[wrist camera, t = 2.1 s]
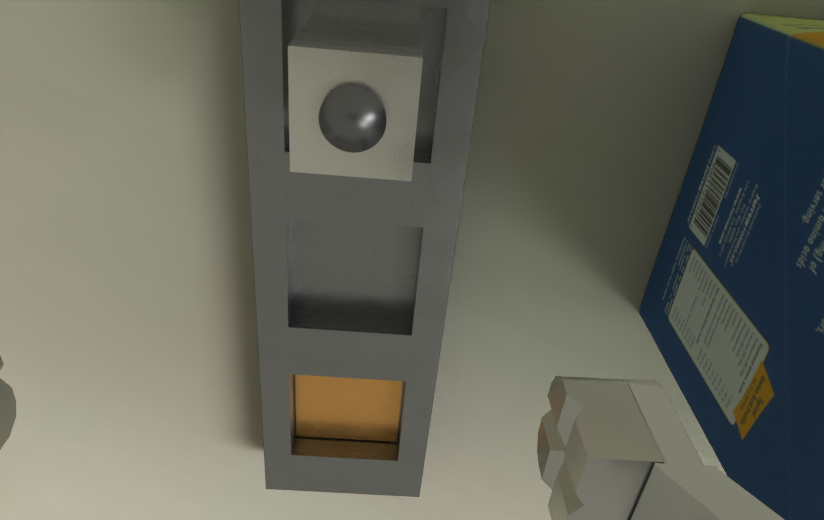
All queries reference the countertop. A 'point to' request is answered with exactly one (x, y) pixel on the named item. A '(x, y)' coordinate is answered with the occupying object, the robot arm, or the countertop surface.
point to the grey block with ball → (354, 97)
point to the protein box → (754, 268)
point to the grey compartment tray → (355, 258)
